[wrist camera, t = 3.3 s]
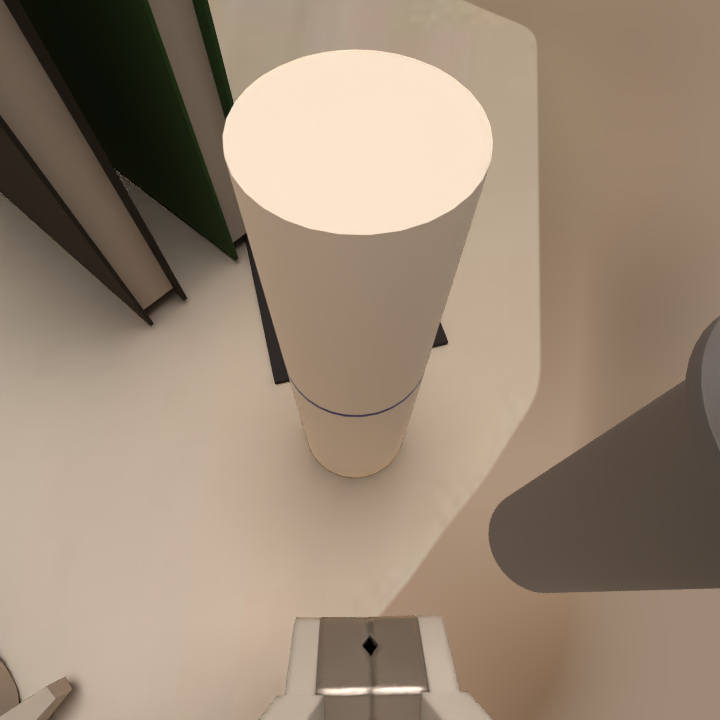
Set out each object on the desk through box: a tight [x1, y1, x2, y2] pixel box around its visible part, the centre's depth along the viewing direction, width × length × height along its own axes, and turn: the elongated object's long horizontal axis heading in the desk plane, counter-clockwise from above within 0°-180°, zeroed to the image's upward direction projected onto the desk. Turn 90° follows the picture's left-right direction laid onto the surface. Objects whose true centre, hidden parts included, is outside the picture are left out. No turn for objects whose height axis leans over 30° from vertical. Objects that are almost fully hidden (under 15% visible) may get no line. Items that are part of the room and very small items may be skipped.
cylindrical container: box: [222, 50, 493, 478], centre depth 24 cm, size 7×7×25 cm
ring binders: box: [0, 0, 246, 326], centre depth 30 cm, size 27×15×32 cm, turn 48°
